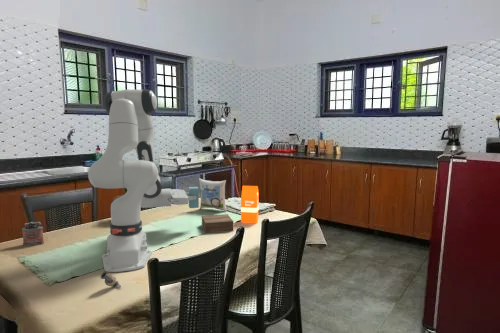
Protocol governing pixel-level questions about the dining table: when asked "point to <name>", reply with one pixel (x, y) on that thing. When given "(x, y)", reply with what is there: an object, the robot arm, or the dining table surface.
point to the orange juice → (249, 204)
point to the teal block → (196, 192)
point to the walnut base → (217, 223)
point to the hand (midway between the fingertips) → (195, 196)
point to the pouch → (212, 194)
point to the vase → (110, 280)
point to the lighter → (32, 234)
